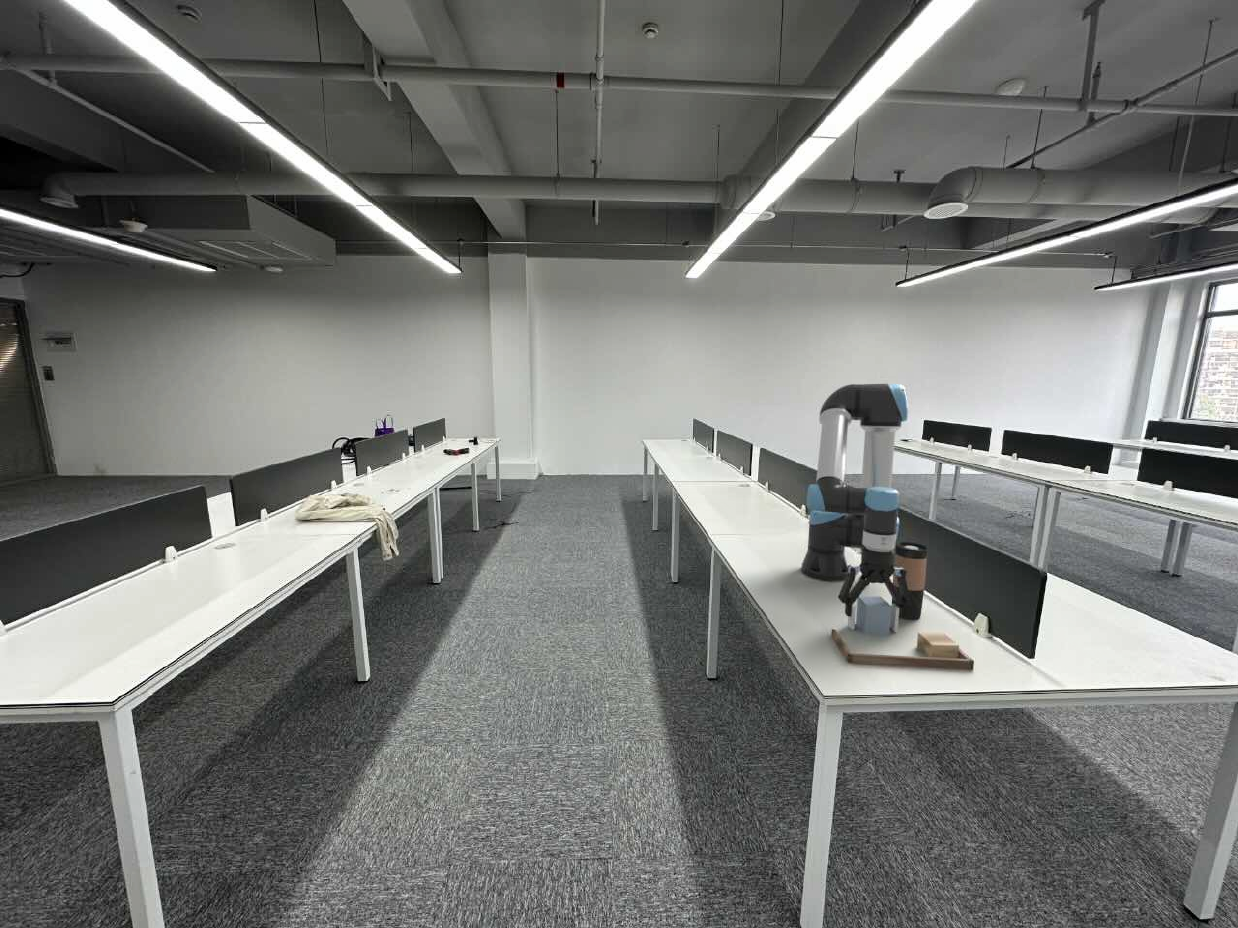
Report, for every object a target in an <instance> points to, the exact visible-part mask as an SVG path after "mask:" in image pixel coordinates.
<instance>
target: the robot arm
mask: <svg viewBox="0 0 1238 928" xmlns="http://www.w3.org/2000/svg"><path fill="white" fill-rule="evenodd" d="M908 413H909V410H908V398H907V392H906V388H905V386H904V385H902V384H898V383H888V382H887V383H864V384H863V383H860V384H859V383H858V384H856V383H853V384H852V383H851V384H845V385H844V386H841V387H839V388H838V389H836V390H835V391H833V392H832V393H831V394H829V396H828V397H827V399H826V400H825V401H824V402H823V404H822V406H821V408H820V411H819V423H820V424H821V433H820V442H819V443H820V444H819V452H818V463H817V469H816V479H815V480H816V482H815V484H809V485H808V486H807V495H806V508H807V509H809V510H811V511H810V514H809V519H808V525H809V526H808V539H807V540H808V542H807V551H806V553H805V556H804V558H803V559H802V562H801V568H800V569H801V570H800V571H801V573H802V574H803V575H804V576H806V577H809V578H810V579H811V578H812V579H814V580H818V581H823V582H842V581H844V582H842V583H843V584H842V587H841V589H840V592H839V594H838V596H837V598H838V599H839V601H840V602H841V603H842V604H845V605H844V606H845V607H844V614H845V615H846V617H847V627H849V629H850V630H851V631H855V628H856V627H855V626H856V613H857V605H855V602H856V601H858V597H859V596H861V594H862V593H863V592H864V590H865V589H866V588H867V587H868V586H870V584H876V583H877V584H884V585H885V587H886V589H887V591H888V593H889V595H890V596H891V599H892V598H893V600H894V602H895V603H896V605H895V604H892V603H891V604H890V606H891V617H890V628H891V629H890V630H892V631H893V632H895V633H898V630H899V619H901V620H902V619H903V618H902V612H903V609H904V608H905V606H906V605H908V606H910V605H911V599H910V595H909V591H908V587H907V582H906V570H905V569H903V568H902V567H900V566H899V567H898V568H895V567H894V562H895V551H896V550H895V549H896V542H897V539H898V533H899V526H900V518H899V517H898V515H899V506H900V499H899V497H900V493H899V491H898V490H897V489H894V488H892V481H893V479H892V478H893V465H894V455H895V454H894V452H895V439H896V432H897V431H899V430H900V429H901V428H902V422H906V421H907V420H908V418H909V417H908ZM852 421H860V422H859V423H860V424H859V426H860V428H862V430H864V439H863V440H864V442H863V454H862V455H863V456H862V458H863V459H862V469H861V470H862V471H861V472H862V473H861V482H860V483H861V487H852V486H845V478H846V477H845V476H846V462H847V461H846V459H847V449H848V447H847V446H848V445H847V444H848V433H849V432H848V430H849V426H850V425H851V423H852ZM846 548H851V549H852V548H853V549H858V550H861V552H860V553H861V555H860V564H859V565H857V566H853V565H851V564H849V565H848V562H847V559H846V555H845V549H846ZM859 572H860V573H861V575H860V576H859V577H858V580H857V582H856V583H855V579H856V576H857V575H858V573H859ZM894 572H895V575H896V576H897V581H898V585H899V589H900V593H901V597H902V599H900V597H899V595H898V593H897V591H896V590H895V588H894V586H893V581H892V580H891V577H892V575H893V573H894ZM854 583H855V585H854ZM853 585H854V586H853Z"/></svg>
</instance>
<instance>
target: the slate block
mask: <svg viewBox="0 0 1238 928" xmlns="http://www.w3.org/2000/svg"><path fill="white" fill-rule="evenodd" d="M856 601H857V605H856V614H855V625H856V626H857V627H858V628H859V629H860V631H861V632H862V633H863V635H867V636H868V635H869V636H870V635H871V636H889V637H890V630H891V629H890V628H891V627H890V617H891V604H889V602H887V601H886V600H885V599H884V598H883V597H882V596H873V595H872V596H871V595H859V597H858V598H857V600H856Z"/></svg>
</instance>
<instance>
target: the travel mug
mask: <svg viewBox="0 0 1238 928" xmlns="http://www.w3.org/2000/svg"><path fill="white" fill-rule="evenodd" d="M894 551H895V554H894V564H893V566H894V567H895V568H898V567H899V566H900V567H902V568H903V569H905V570H906V582H907V587H908V591H909V595H910V599H911V605H910V606H908V605H906V606H905V608H904V609H903V612H902V618H901V619H904V620H909V621H916V620H919V619H921V615H922V607H923V601H924V593H925V586H926V585H925V584H926V570H927V561H928V560H927V557H928V548H927V546H925V545H924V544H921V543H916V542H909V541H907V542H906V541H902V542H900V543H898V544H896V543H895V550H894ZM892 575H893V576H892V583H893V586H894V588H895V590H896V591H897V593H898V595H899V597H900V599H902V597H901V593H900V589H899V585H898V581H897V576H896V575H895V572H894V573H893V574H892ZM892 604H895V605H896V603H895V602H894V600H893V598H892V597H891V605H892Z"/></svg>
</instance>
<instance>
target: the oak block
mask: <svg viewBox="0 0 1238 928" xmlns="http://www.w3.org/2000/svg"><path fill="white" fill-rule="evenodd" d="M916 648H917V649H919V650H920V651H921V652H922V654H923V655H925V657H934V658H955V659H958V652H959V648H960V644H958V643H957V642H956V641H955V640H953V639H952V638H951V637H950V636H948V635H946V633H944V632H921V631H919V632H917V643H916Z"/></svg>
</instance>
